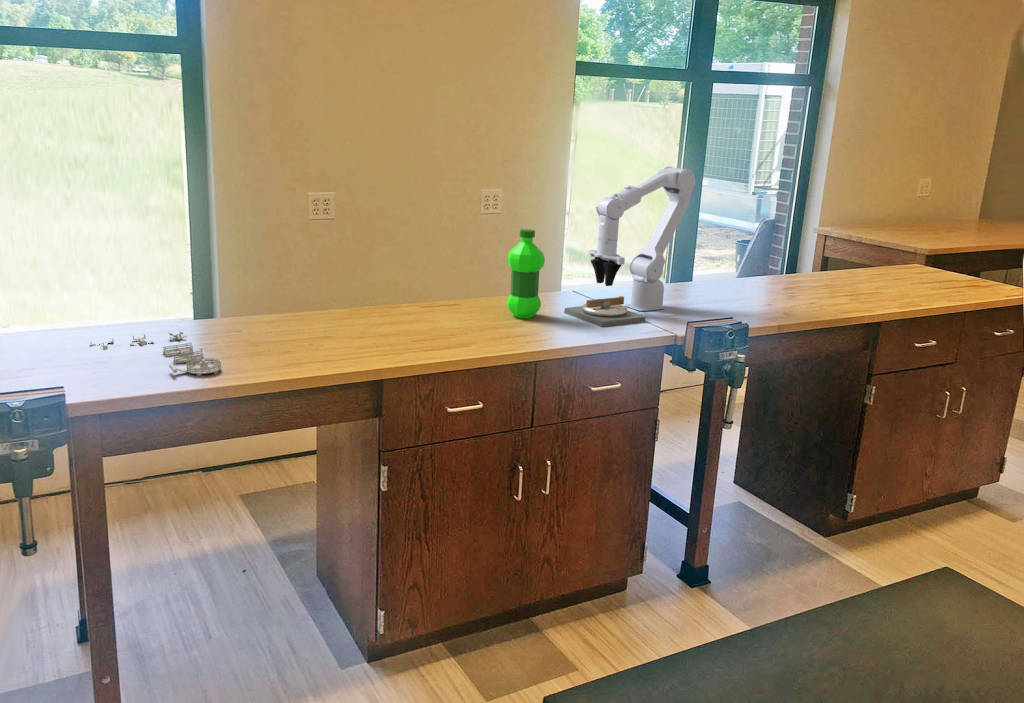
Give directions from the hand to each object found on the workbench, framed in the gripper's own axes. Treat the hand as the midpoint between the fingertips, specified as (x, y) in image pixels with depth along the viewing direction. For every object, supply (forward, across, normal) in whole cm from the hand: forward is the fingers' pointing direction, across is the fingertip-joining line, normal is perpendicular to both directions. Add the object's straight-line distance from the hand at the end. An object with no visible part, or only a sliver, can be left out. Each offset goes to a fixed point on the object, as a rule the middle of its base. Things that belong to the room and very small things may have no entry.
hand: (604, 284), depth 263 cm
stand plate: (+8, +6, -4) cm, 11 cm away
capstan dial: (+7, +6, -4) cm, 10 cm away
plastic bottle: (+9, -4, -26) cm, 28 cm away
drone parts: (+9, -2, -128) cm, 128 cm away
